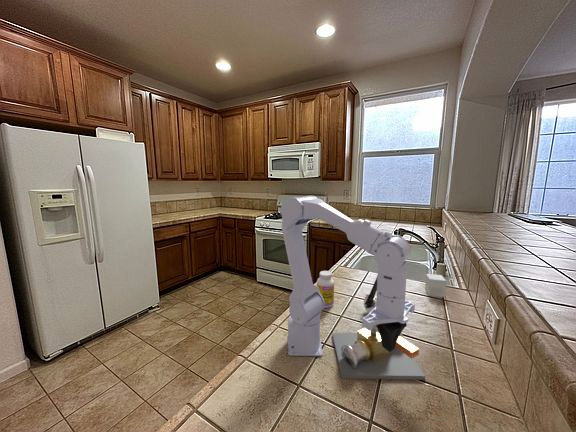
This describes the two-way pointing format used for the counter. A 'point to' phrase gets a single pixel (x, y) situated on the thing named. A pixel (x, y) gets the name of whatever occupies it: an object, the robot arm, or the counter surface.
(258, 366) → the counter surface
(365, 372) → the mounting board
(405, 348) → the lever
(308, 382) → the counter surface
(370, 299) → the butterfly valve
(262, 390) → the counter surface
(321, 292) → the supplement bottle
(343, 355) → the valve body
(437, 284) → the product box
